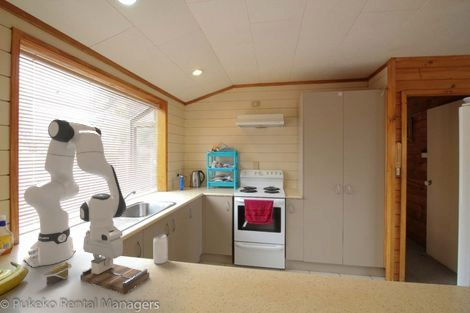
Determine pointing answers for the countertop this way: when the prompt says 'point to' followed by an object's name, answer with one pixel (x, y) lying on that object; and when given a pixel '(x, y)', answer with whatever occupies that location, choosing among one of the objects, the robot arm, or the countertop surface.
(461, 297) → the countertop surface
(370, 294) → the countertop surface
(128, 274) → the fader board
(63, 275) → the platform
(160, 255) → the can
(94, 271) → the white lidded box
